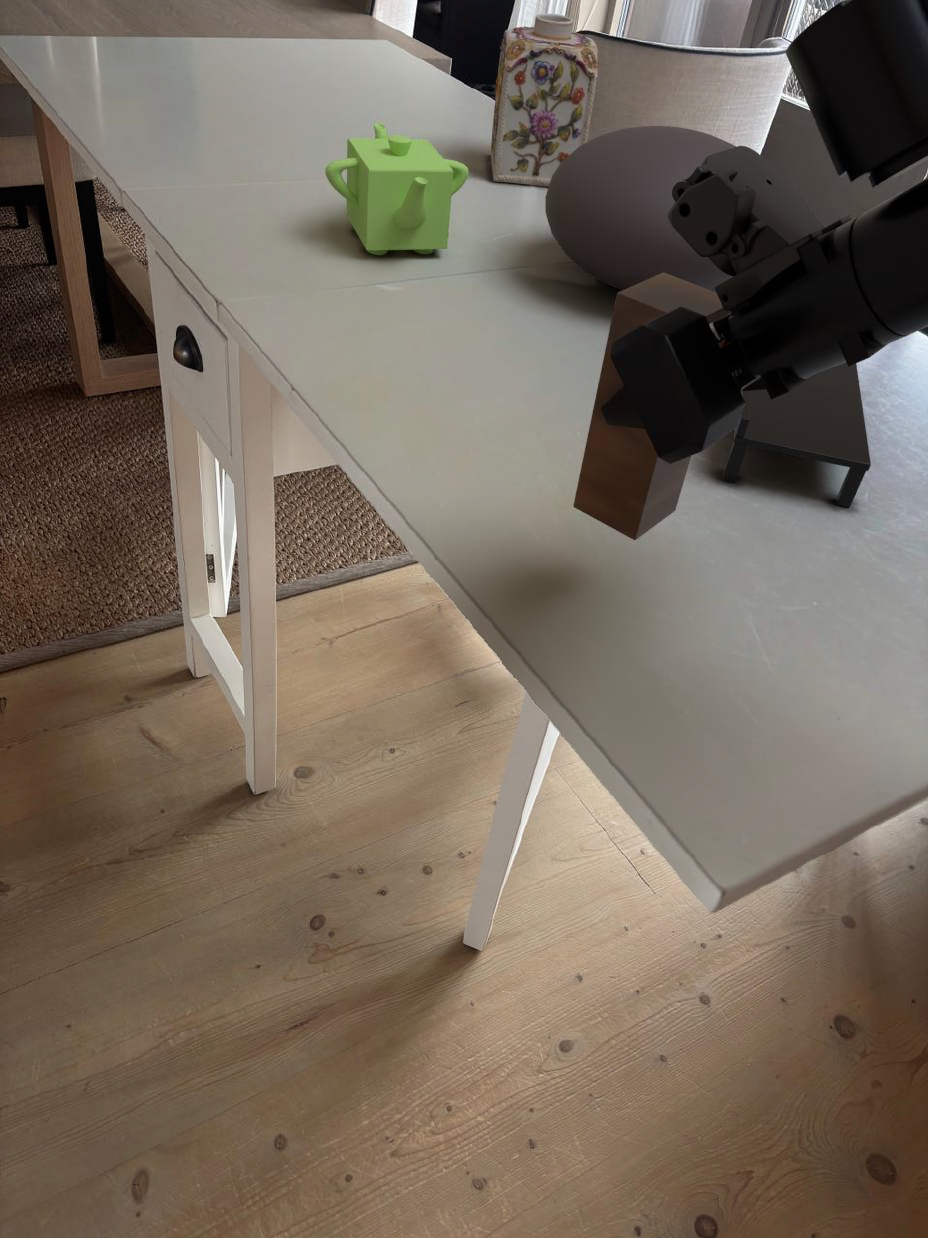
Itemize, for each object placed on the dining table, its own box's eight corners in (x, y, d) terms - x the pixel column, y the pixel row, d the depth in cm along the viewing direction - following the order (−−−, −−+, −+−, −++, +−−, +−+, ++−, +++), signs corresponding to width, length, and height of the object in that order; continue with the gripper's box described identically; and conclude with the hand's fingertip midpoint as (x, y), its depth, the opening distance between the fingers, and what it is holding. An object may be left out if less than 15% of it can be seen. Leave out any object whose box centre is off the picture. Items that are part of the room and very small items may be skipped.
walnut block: (675, 510, 58) (737, 300, 49) (635, 540, 56) (692, 323, 47) (614, 479, 60) (663, 271, 51) (572, 506, 58) (616, 292, 49)
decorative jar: (572, 163, 131) (596, 12, 119) (580, 190, 123) (607, 31, 111) (487, 154, 131) (503, 2, 119) (489, 182, 122) (507, 20, 110)
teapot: (373, 208, 110) (377, 108, 103) (477, 236, 107) (488, 134, 100) (305, 247, 100) (304, 139, 93) (419, 279, 96) (426, 169, 89)
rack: (837, 381, 88) (859, 326, 84) (851, 509, 72) (879, 447, 68) (731, 360, 89) (748, 304, 86) (720, 480, 73) (741, 418, 69)
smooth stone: (592, 342, 89) (625, 177, 79) (502, 242, 106) (520, 95, 96) (809, 328, 97) (864, 175, 87) (691, 236, 114) (726, 100, 104)
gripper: (894, 78, 46) (655, 236, 58) (703, 132, 35) (456, 314, 47) (980, 288, 48) (730, 399, 60) (824, 404, 37) (556, 511, 49)
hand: (629, 401), depth 54 cm, fingers closed on walnut block, 4 cm apart
